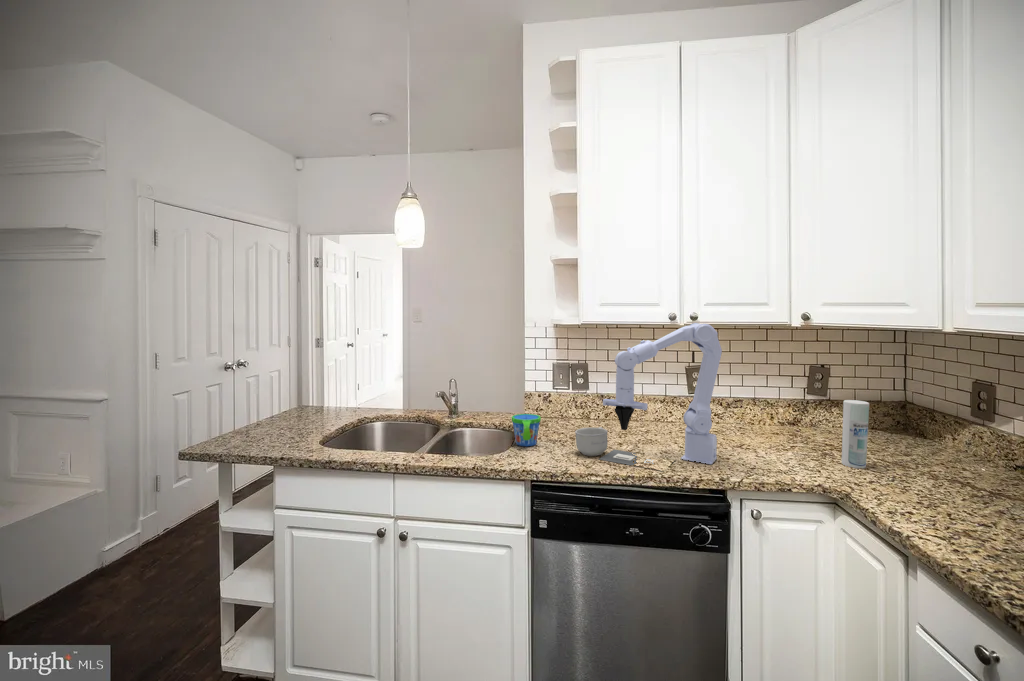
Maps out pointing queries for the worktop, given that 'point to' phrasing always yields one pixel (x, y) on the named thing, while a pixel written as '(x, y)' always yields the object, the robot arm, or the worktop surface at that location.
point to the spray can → (855, 433)
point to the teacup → (591, 441)
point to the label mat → (622, 457)
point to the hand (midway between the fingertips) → (624, 429)
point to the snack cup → (526, 429)
